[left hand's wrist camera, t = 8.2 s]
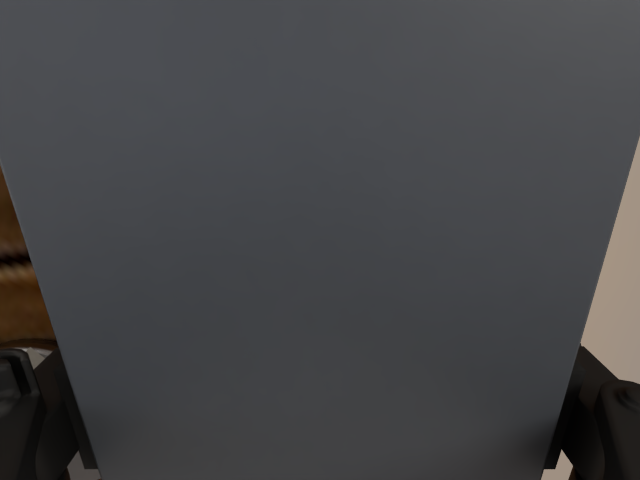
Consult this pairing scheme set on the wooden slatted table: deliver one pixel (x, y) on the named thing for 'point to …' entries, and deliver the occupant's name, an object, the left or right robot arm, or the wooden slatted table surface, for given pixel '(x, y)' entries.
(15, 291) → the wooden slatted table surface
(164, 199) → the long dark gray bar
